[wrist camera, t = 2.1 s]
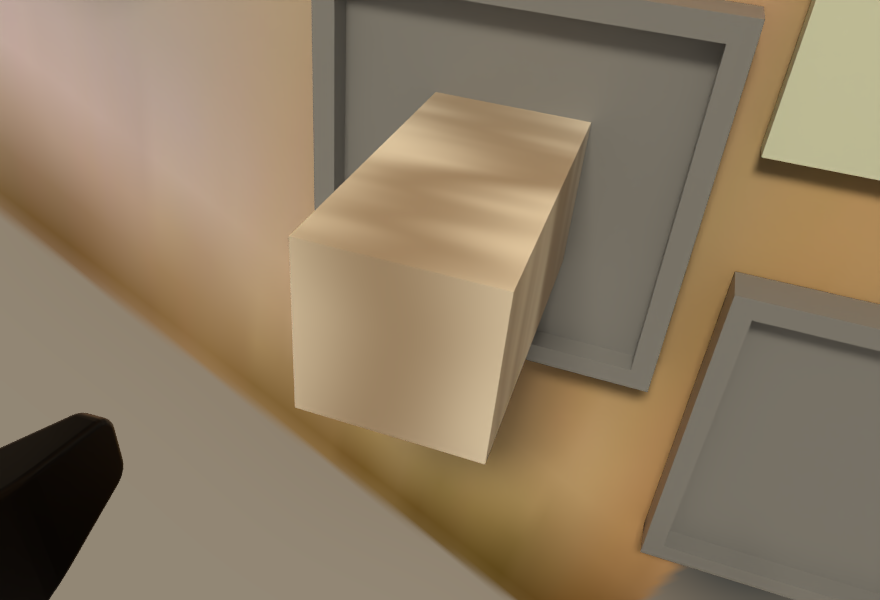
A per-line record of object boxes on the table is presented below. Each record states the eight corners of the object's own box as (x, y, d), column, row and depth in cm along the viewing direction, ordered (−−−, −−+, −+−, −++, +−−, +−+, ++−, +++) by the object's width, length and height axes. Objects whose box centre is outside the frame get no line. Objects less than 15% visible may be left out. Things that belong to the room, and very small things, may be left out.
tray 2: (1184, 374, 18) (1208, 406, 17) (974, 624, 24) (984, 659, 23) (735, 271, 20) (734, 295, 19) (644, 523, 26) (640, 551, 25)
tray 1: (763, 6, 17) (764, 19, 16) (651, 366, 22) (647, 392, 22) (332, -61, 19) (311, -53, 18) (332, 283, 25) (316, 303, 24)
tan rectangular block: (591, 122, 19) (514, 292, 12) (562, 263, 21) (484, 467, 15) (435, 91, 20) (288, 236, 13) (424, 231, 22) (295, 410, 16)
